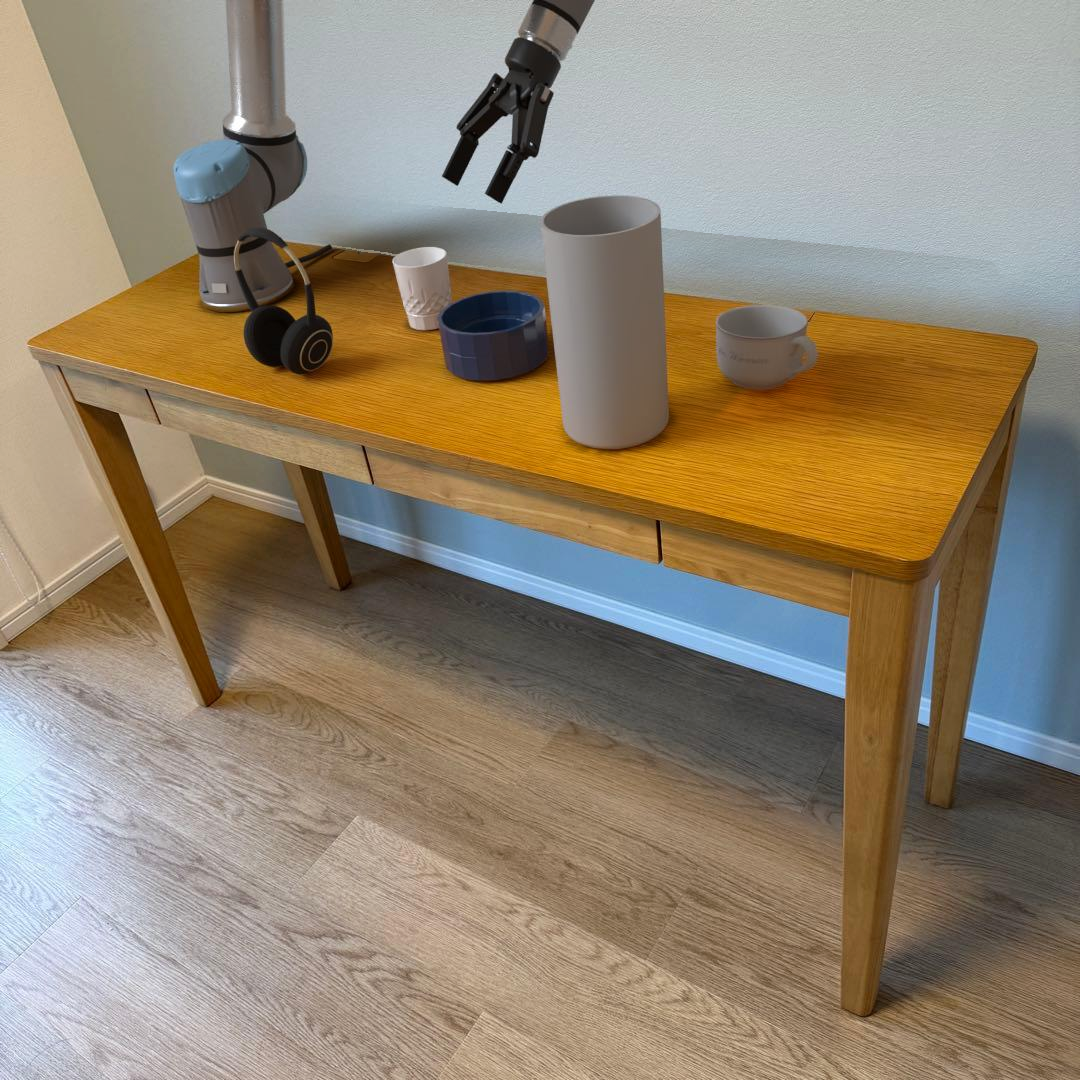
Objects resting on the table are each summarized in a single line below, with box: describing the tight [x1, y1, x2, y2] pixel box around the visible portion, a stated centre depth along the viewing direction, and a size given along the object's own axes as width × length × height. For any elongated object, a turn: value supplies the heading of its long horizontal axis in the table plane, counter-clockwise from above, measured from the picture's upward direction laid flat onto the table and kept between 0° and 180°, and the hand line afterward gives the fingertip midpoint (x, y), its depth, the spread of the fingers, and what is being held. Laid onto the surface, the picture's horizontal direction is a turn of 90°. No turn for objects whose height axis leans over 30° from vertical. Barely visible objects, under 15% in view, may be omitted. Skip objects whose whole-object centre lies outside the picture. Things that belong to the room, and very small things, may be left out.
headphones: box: [234, 228, 334, 376], centre depth 136 cm, size 9×15×20 cm, turn 54°
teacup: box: [715, 304, 819, 391], centre depth 120 cm, size 14×11×8 cm
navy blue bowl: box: [437, 289, 550, 382], centre depth 135 cm, size 14×14×7 cm
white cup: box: [391, 246, 453, 331], centre depth 147 cm, size 8×8×10 cm
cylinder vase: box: [539, 194, 670, 450], centre depth 111 cm, size 12×12×25 cm
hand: (470, 190), depth 145 cm, fingers open, 13 cm apart
